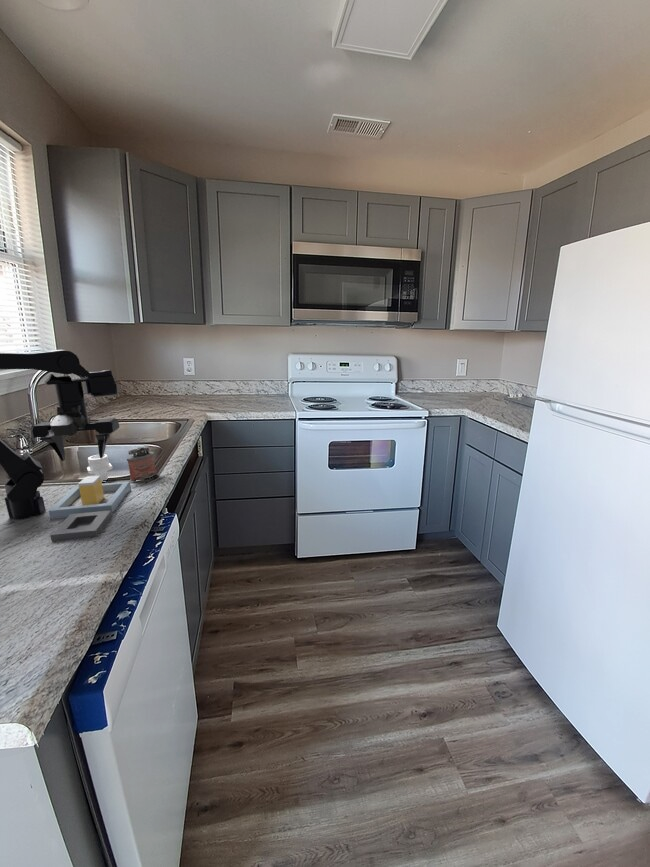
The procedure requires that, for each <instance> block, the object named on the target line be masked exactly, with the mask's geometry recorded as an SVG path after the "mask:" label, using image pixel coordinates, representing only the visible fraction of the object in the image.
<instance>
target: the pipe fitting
mask: <svg viewBox="0 0 650 867" xmlns="http://www.w3.org/2000/svg"><path fill="white" fill-rule="evenodd" d="M87 462H88V466H87V467H86V470H87V472H88V474H91V475H92V474H93V475H94V476H100V477H101V481H103V480H107V479H108V480H109V478H108V472H109V471H111V470H113V465H112V464H111V463H110V462H109V457H108V454H105V453H104V456H103V458H100V455H99V454H95V455H91V456H89V457H87Z"/></svg>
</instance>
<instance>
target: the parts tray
mask: <svg viewBox="0 0 650 867" xmlns="http://www.w3.org/2000/svg"><path fill="white" fill-rule="evenodd" d="M102 488H103V494H104V495H108V494H109V495H110V494H113V495H111V497H110V498H109V500H108V501H107V502H104V503H99V504H92V505H72V504H73V503H74V501H76V500H77V499H78V498H79V497H81V496H80V490H79V485H78V484H77V485H75V486H74V487H73V488H72V489H70V491H69V492H67V494H65V495H64V496H62V498H61V499H59V501H58V502H57V503H56V504H54V505H53V506H52V507H51V508H50V509H49V510H48V514H49V519H60V518H67V517H68V516H69V515H70V514H77V513H88V512H99V511H110V510H111V513H112V514H113V513H114V512H115V510H116V508H118V506H119V505H120V503H121V502H122V501H123V500H124V499H125V497H126V495H128V493H131V492H132V486H131V482H130V480H129V481H127V480H126V481H119V482H118V481H117V482H105V483H102Z"/></svg>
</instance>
